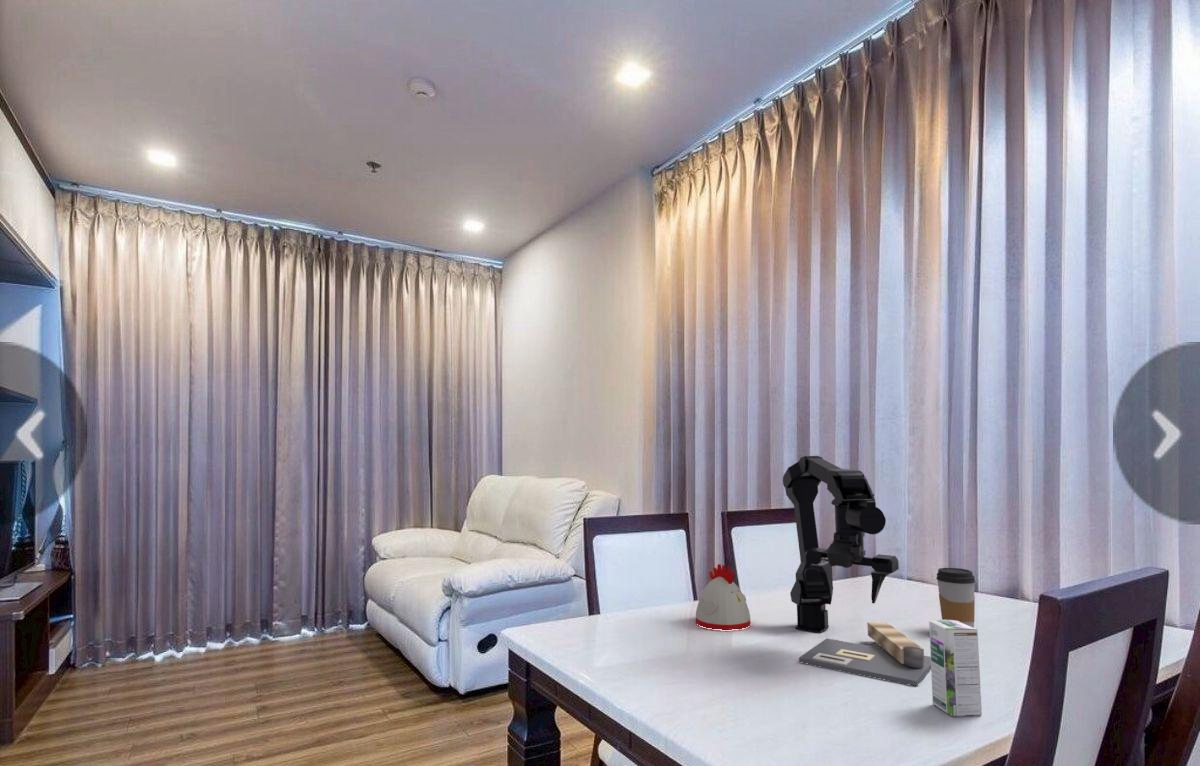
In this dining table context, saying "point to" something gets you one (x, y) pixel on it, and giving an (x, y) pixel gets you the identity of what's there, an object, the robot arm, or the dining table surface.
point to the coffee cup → (956, 595)
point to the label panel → (864, 661)
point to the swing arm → (896, 644)
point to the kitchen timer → (722, 603)
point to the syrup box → (955, 667)
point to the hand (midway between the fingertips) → (851, 599)
